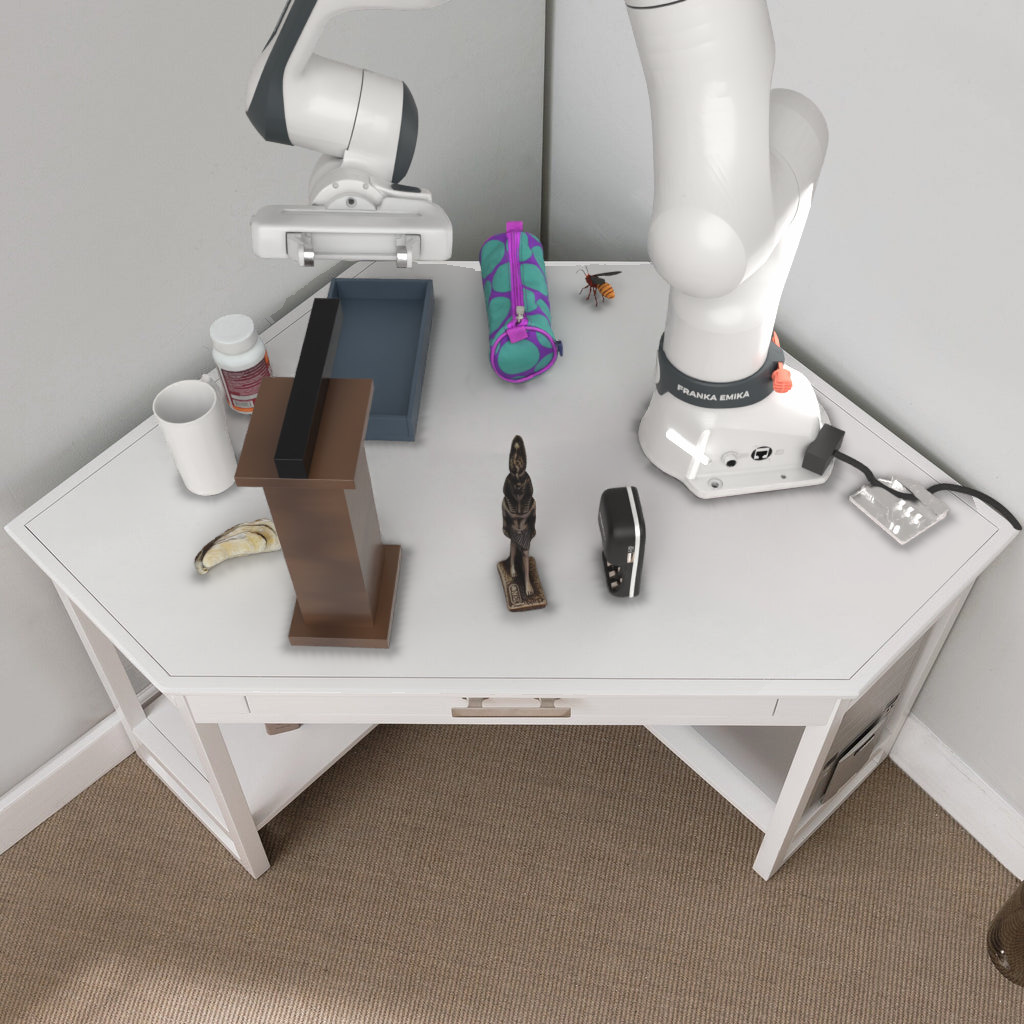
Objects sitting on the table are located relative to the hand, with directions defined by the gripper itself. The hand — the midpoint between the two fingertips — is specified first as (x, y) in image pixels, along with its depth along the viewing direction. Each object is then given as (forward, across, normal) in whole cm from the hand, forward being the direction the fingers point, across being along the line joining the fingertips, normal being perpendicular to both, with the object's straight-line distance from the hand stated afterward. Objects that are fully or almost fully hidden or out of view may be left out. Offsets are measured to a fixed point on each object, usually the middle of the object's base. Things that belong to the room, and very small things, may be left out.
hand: (355, 259), depth 103 cm
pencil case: (-25, +22, +18) cm, 38 cm away
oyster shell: (+3, -12, +32) cm, 35 cm away
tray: (-22, +3, +22) cm, 31 cm away
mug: (-10, -16, +28) cm, 34 cm away
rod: (+15, -4, +7) cm, 17 cm away
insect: (-28, +32, +15) cm, 46 cm away
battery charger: (+13, +26, +30) cm, 42 cm away
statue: (+12, +16, +31) cm, 37 cm away
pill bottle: (-20, -12, +25) cm, 34 cm away
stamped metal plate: (+10, +58, +24) cm, 64 cm away
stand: (+10, -2, +33) cm, 34 cm away
